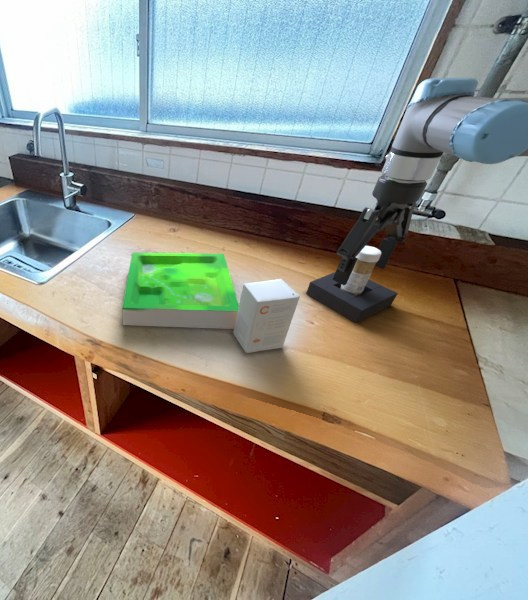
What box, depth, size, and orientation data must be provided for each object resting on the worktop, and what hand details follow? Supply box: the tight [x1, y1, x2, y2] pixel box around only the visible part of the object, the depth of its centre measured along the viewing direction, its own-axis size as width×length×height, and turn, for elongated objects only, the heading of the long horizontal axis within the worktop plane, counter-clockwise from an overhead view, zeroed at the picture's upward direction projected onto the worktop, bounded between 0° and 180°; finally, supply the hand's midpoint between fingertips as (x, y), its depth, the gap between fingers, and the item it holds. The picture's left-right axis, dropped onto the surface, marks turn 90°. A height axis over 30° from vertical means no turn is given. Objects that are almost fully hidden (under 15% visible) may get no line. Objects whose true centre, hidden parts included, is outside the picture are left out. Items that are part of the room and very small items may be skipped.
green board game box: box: [121, 252, 239, 330], centre depth 80 cm, size 25×25×5 cm
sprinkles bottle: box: [340, 245, 381, 297], centre depth 73 cm, size 5×5×13 cm
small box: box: [233, 278, 300, 354], centre depth 63 cm, size 8×6×13 cm
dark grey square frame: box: [305, 271, 399, 324], centre depth 76 cm, size 13×13×4 cm
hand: (358, 273), depth 73 cm, fingers open, 13 cm apart
